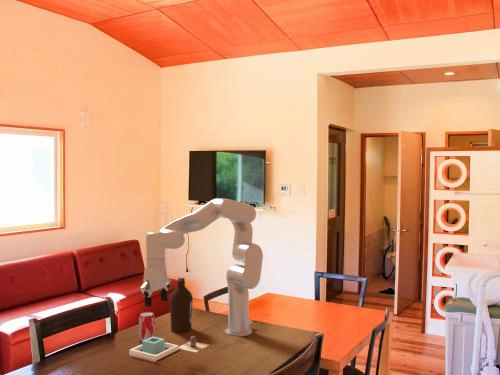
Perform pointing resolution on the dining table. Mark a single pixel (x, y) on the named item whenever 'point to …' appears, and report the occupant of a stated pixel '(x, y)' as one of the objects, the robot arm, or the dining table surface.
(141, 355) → the white square frame
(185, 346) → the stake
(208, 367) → the dining table surface
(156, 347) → the collar
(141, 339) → the soda can
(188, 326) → the olive oil
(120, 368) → the dining table surface
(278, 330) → the dining table surface
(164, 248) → the robot arm
